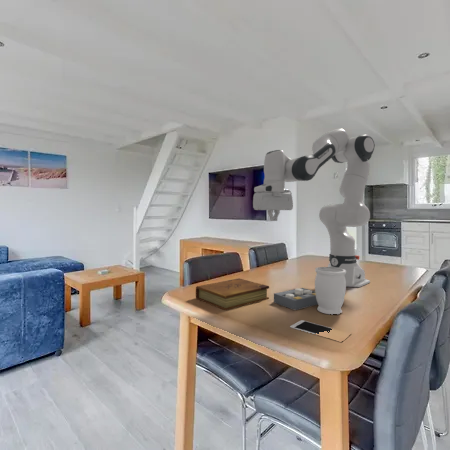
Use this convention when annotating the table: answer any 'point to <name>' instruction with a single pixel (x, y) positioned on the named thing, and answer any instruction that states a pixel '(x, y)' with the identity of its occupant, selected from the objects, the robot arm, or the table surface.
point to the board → (296, 299)
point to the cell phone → (310, 327)
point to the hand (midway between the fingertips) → (273, 220)
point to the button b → (307, 291)
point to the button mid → (299, 292)
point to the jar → (330, 289)
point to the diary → (232, 293)
